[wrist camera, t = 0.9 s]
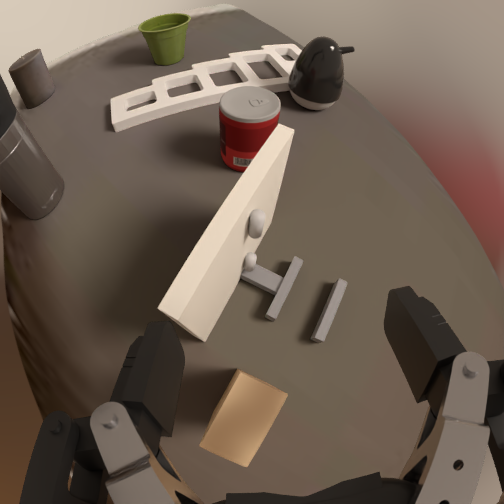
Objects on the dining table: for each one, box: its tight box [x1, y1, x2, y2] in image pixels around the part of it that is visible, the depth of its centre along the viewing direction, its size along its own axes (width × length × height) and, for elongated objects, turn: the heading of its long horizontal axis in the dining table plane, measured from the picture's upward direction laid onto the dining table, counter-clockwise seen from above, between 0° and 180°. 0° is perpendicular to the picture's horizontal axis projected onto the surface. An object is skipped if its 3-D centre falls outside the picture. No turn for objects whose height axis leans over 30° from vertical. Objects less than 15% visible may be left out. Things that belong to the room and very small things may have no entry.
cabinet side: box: [158, 124, 348, 343], centre depth 27 cm, size 14×18×17 cm
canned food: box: [219, 86, 281, 172], centre depth 38 cm, size 8×8×11 cm
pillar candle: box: [9, 49, 55, 109], centre depth 43 cm, size 10×10×15 cm
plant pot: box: [138, 13, 191, 65], centre depth 49 cm, size 12×12×11 cm
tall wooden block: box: [199, 369, 288, 467], centre depth 23 cm, size 4×6×15 cm, turn 153°
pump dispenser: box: [288, 37, 354, 110], centre depth 43 cm, size 10×10×15 cm
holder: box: [111, 44, 302, 132], centre depth 51 cm, size 45×18×3 cm, turn 112°
